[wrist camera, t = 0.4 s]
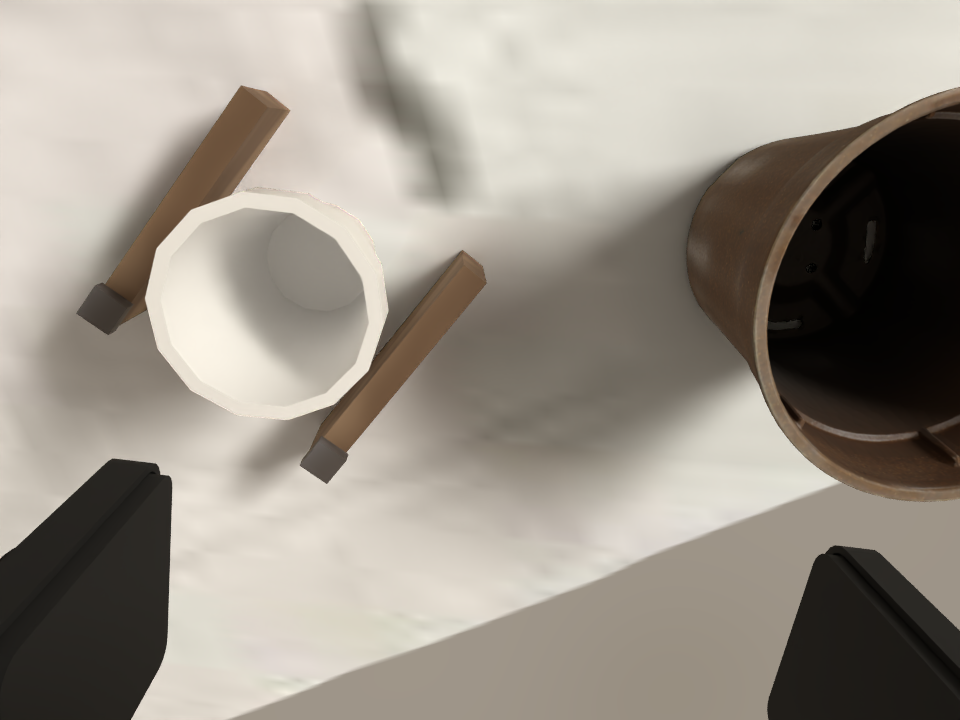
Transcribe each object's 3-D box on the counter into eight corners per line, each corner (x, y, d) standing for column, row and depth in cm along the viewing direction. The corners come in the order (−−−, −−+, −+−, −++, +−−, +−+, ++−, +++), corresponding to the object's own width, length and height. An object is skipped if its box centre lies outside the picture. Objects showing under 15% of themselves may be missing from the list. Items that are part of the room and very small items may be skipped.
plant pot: (662, 399, 45) (772, 538, 29) (627, 133, 40) (739, 132, 24) (920, 347, 44) (1170, 461, 29) (918, 73, 39) (1217, 33, 24)
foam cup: (369, 151, 39) (331, 159, 27) (426, 306, 42) (416, 376, 30) (211, 208, 40) (103, 241, 28) (277, 357, 43) (206, 447, 30)
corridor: (126, 289, 41) (76, 313, 36) (264, 90, 38) (233, 82, 33) (342, 440, 45) (326, 484, 39) (484, 267, 42) (489, 288, 36)
